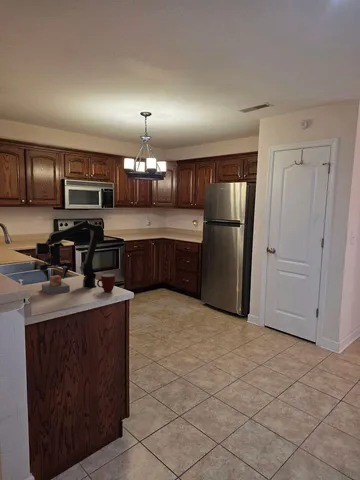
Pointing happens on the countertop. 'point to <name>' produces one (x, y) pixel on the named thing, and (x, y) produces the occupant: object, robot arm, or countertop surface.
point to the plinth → (55, 288)
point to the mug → (107, 282)
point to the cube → (55, 280)
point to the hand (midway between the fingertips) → (55, 279)
